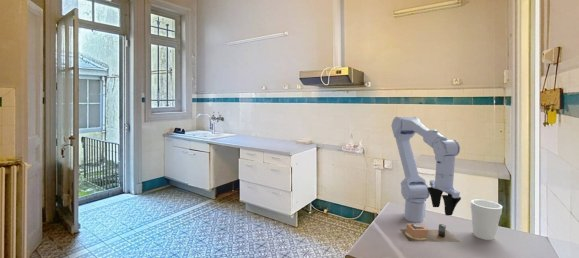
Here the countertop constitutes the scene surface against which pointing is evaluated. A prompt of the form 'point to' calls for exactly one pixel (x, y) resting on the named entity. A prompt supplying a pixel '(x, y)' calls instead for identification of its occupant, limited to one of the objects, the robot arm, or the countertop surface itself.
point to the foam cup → (485, 218)
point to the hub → (415, 226)
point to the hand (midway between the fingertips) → (442, 210)
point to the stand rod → (441, 230)
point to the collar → (417, 231)
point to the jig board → (435, 236)
